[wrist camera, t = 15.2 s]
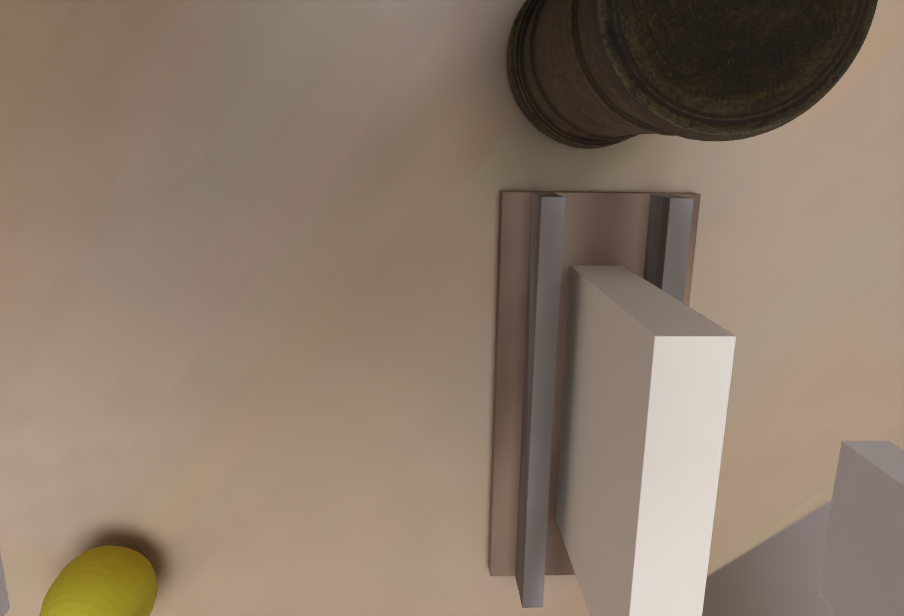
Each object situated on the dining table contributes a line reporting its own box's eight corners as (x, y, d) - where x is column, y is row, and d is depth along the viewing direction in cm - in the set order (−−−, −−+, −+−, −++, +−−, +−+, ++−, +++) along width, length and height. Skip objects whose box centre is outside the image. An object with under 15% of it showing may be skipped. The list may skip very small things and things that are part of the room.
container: (594, 179, 38) (743, 214, 20) (470, 72, 36) (519, 11, 19) (704, 47, 36) (965, -35, 19) (581, -71, 35) (745, -280, 17)
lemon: (200, 543, 42) (136, 664, 33) (161, 615, 43) (88, 752, 34) (98, 498, 41) (0, 609, 31) (61, 572, 42) (-45, 702, 33)
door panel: (555, 519, 42) (621, 701, 28) (570, 265, 38) (654, 336, 24) (612, 518, 42) (705, 699, 29) (633, 265, 38) (752, 336, 25)
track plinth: (488, 566, 44) (495, 608, 40) (500, 190, 38) (510, 196, 34) (656, 563, 44) (678, 604, 40) (693, 192, 38) (724, 199, 34)
